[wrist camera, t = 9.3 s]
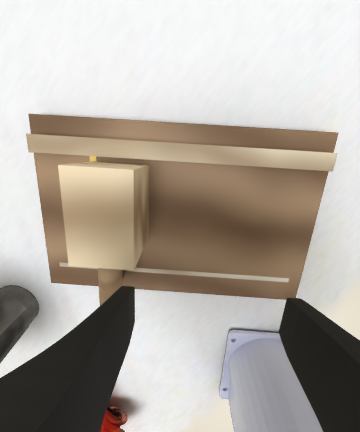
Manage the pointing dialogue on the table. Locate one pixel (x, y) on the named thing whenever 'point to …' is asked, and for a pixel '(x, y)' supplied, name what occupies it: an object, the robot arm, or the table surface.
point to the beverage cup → (15, 315)
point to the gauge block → (105, 218)
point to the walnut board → (196, 200)
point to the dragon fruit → (113, 420)
